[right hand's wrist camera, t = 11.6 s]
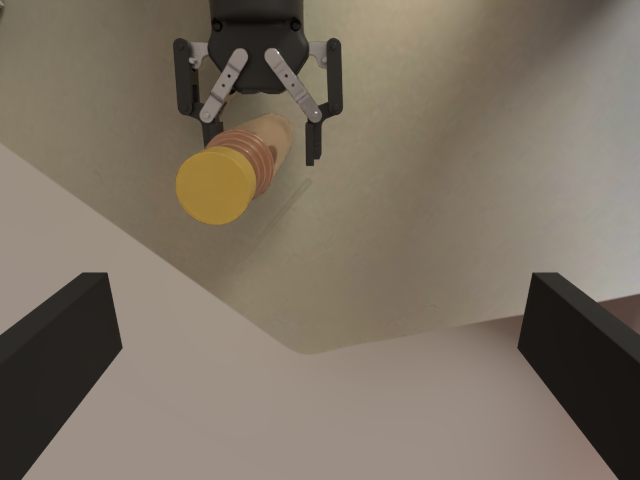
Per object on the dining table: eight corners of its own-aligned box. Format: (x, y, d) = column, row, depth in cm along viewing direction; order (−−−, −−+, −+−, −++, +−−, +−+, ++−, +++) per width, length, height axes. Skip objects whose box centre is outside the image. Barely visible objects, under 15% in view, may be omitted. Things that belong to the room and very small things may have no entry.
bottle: (295, 115, 42) (262, 145, 19) (292, 160, 43) (258, 235, 21) (251, 111, 42) (166, 136, 19) (249, 155, 43) (170, 226, 21)
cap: (257, 149, 21) (251, 155, 19) (255, 216, 22) (248, 228, 20) (187, 142, 21) (173, 148, 19) (188, 210, 22) (176, 221, 20)
